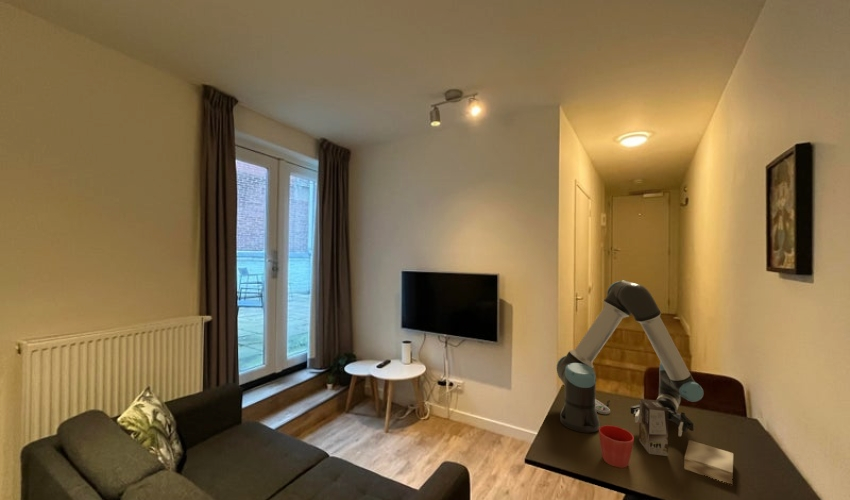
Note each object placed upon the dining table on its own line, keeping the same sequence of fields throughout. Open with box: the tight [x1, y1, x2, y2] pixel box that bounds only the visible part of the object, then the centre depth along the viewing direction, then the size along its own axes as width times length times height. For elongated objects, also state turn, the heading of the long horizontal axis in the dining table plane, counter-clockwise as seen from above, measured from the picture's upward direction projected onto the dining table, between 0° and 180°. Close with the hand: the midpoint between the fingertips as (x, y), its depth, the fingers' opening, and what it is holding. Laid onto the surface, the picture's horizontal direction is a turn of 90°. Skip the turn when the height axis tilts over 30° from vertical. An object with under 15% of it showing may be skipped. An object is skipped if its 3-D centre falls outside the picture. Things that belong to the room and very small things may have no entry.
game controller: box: [595, 398, 611, 415], centre depth 162 cm, size 15×13×2 cm
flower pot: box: [598, 425, 635, 469], centre depth 121 cm, size 11×11×10 cm
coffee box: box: [638, 398, 669, 457], centre depth 128 cm, size 9×6×16 cm
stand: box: [683, 439, 734, 485], centre depth 118 cm, size 12×14×4 cm
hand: (657, 425), depth 129 cm, fingers open, 13 cm apart
